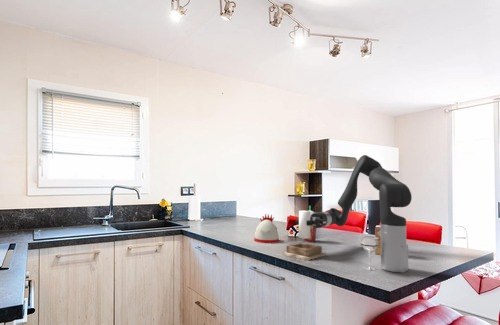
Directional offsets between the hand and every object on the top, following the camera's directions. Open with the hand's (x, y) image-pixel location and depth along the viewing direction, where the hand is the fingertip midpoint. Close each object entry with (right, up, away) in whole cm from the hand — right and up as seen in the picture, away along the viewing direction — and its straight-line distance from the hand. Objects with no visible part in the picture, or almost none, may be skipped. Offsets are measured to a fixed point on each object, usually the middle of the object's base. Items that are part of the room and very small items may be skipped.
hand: (302, 222), depth 141 cm
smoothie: (+10, -18, +35) cm, 41 cm away
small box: (+40, -16, +6) cm, 44 cm away
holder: (+1, -15, 0) cm, 15 cm away
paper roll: (+1, -7, +1) cm, 7 cm away
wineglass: (+23, -14, -20) cm, 34 cm away
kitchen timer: (-14, -17, +34) cm, 40 cm away
